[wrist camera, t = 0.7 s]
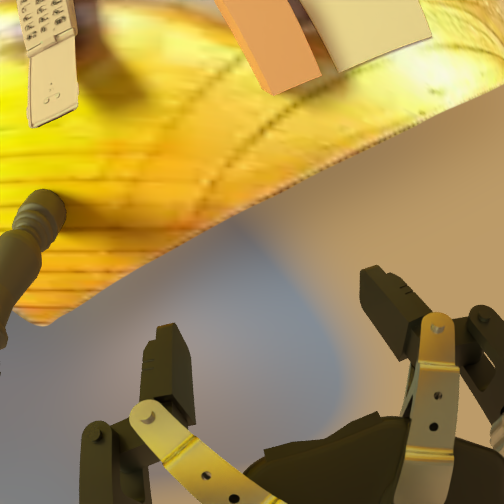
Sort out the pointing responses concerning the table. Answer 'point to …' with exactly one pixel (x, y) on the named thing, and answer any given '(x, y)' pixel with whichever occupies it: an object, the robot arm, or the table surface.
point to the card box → (271, 42)
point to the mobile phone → (50, 58)
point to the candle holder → (26, 248)
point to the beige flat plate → (365, 27)
